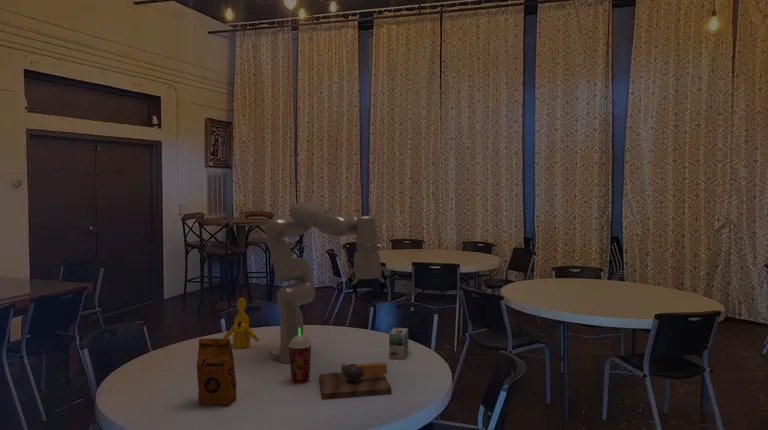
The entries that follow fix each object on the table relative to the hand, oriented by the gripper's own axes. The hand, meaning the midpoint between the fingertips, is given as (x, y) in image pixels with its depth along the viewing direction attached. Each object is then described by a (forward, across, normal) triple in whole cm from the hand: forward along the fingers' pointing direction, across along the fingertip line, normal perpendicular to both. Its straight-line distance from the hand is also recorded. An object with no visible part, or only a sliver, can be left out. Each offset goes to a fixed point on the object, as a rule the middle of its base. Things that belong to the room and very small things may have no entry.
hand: (368, 293), depth 207 cm
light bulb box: (+32, -14, -25) cm, 43 cm away
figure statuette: (+30, +55, -50) cm, 80 cm away
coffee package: (+31, +54, +15) cm, 64 cm away
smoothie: (+31, +27, -1) cm, 41 cm away
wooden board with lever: (+32, +8, +8) cm, 34 cm away
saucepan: (+28, +3, +8) cm, 29 cm away
